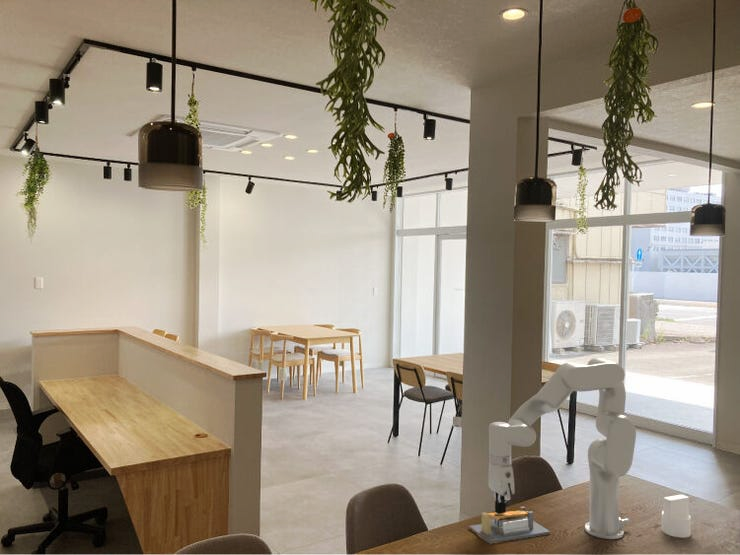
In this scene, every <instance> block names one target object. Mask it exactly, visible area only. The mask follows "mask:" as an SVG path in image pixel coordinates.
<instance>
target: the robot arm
mask: <svg viewBox="0 0 740 555" xmlns="http://www.w3.org/2000/svg"><path fill="white" fill-rule="evenodd" d="M625 373H626V372H625V370H624V368H623V366H622V365H620V364H619V363H618V362H615V361H612V360H609V359H605V358H603V357H593V358H591V359H590V360H589V361H588V362H587V364H586V365H578V364H576V363H572V362H565V363H562V364H561V365H559V367H558V368H557V369H556V370H555V371H554V372H553V374H552V375H551V376H550V377H549V379H548V380H547V381H546V382H545V383H544V385H543V386H542V387H541V389H540V390H538V392H537V393H536V394H535V395H533V396H531V397H530V398H529V399H528V400H526V401H524V403H522V405H520V406H519V407H518V409H516V411H515V412H514V413H513V415H511V417H510V418H509V420H508V422H504V421H495V422H491V423H490V424H489V425H488V470H487V485H488V487H489V489H490V491H491V492H492V493H493V499H494V513H498V514H501V513H505V512H507V510H506V509H507V507H506V505H507V504H506V503H507V501H510V500H511V495H515V478H514V477H515V476H514V468H513V466H512V446H515V447H516V446H517V447H530V446H532V445H533V444H534V443H535V442H536V440H537V432H536V430H535V429H534V427H532V426H533V424H534V423H535V422H536V421H537V420H538V419H539V418H540V417H542V416H544V415H546V414H550V413H553V412H556V411H557V410H559V409H560V408H561V407H562V405H563V404H564V402H566V400H567V399H569V397H570V395H571V394H572V393H573V392H578V393H579V392H591V391H598V394H599V396H598V405H597V411H596V418H595V428H596V430H597V431H598V433H599V434H600V435H602V436H603V437H605V438H606V439H604V438H598V439H595V440H593V441H592V442H591V443H590V444H589V447H588V450H587V462H588V468H589V469H588V470H589V520H588V521H589V522H586V523H585V525H584V530H585V532H586V533H587V534H589V535H591V536H593V537H596V538H599V539H604V540H617V539H618V540H619V539H621V538H623V537H624V536H625V532H624V529H623V528H622V527H623V526H628V525H630V524H631V520H630V519H629V518H622V517H620V478H621V477H623V476H625V475H626V474H628V473H629V471H630V470H631V467H632V464H633V459H634V458H633V457H634V452H635V447H636V438H637V430H636V426H635V424H634V422H633V420H632V419H631V418H630V417H629V416H627V415H625V411H626V410H625V409H626V398H627V396H626V393H627V392H626V388H625V384H624V380H625V376H626V374H625Z"/></svg>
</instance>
